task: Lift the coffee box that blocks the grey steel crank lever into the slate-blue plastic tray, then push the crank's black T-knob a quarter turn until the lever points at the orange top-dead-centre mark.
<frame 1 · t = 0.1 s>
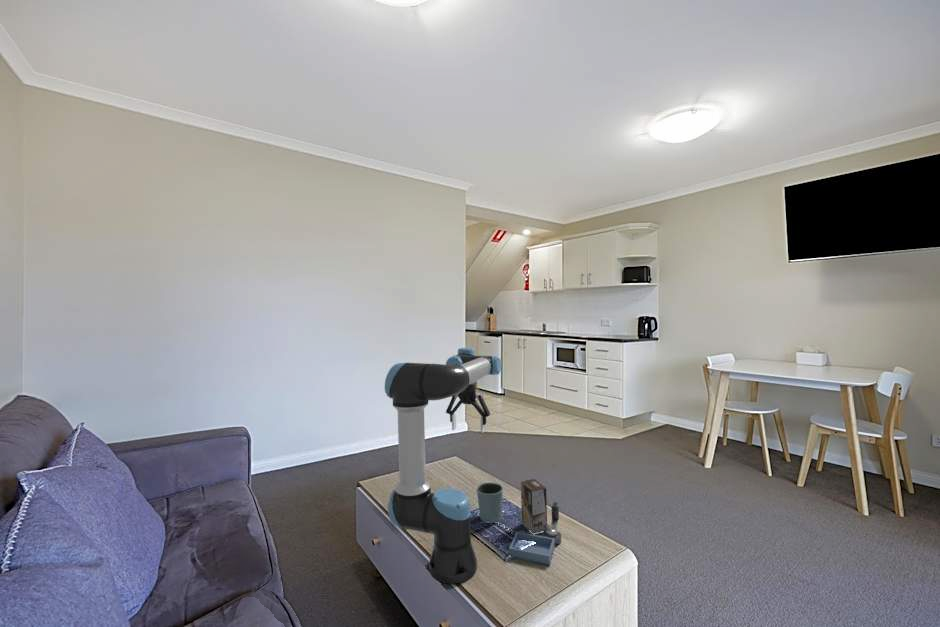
hand: (468, 430, 176), 28 cm above the table, fingers open, 13 cm apart
crank base: (551, 540, 140), on the table
coffee box: (534, 528, 148), on the table
tray: (532, 552, 133), on the table
crank: (553, 518, 143), point 6 cm above the table, hinge at 0.0°
green cup: (490, 518, 155), on the table
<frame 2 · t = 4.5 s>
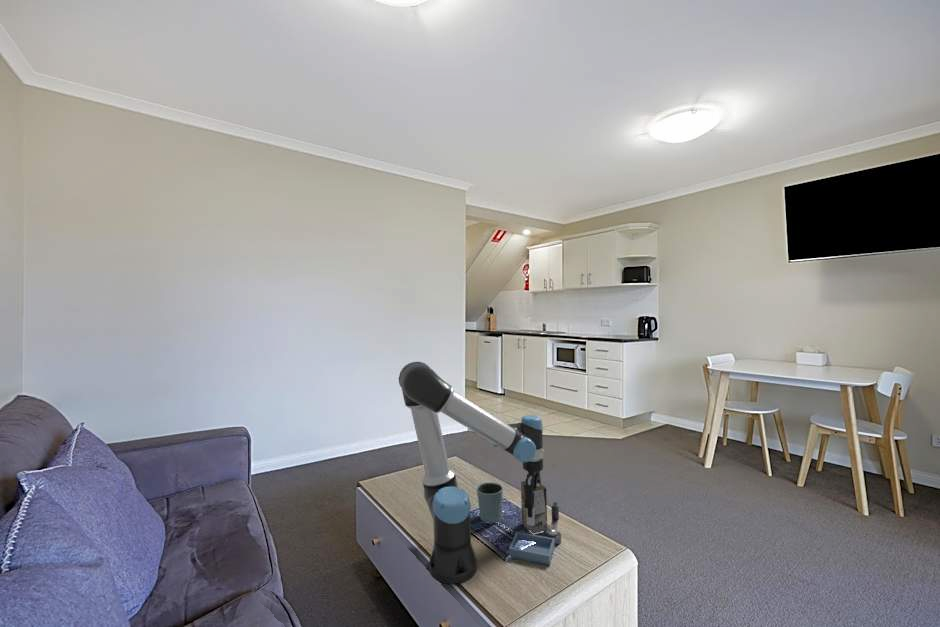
hand: (534, 516, 148), 4 cm above the table, fingers closed on coffee box, 11 cm apart
coffee box: (534, 528, 148), on the table, touching gripper
everything else where it was.
when the fingers open (6 cm above the table, at t = 12.0 s): coffee box stays where it is, resting on tray.
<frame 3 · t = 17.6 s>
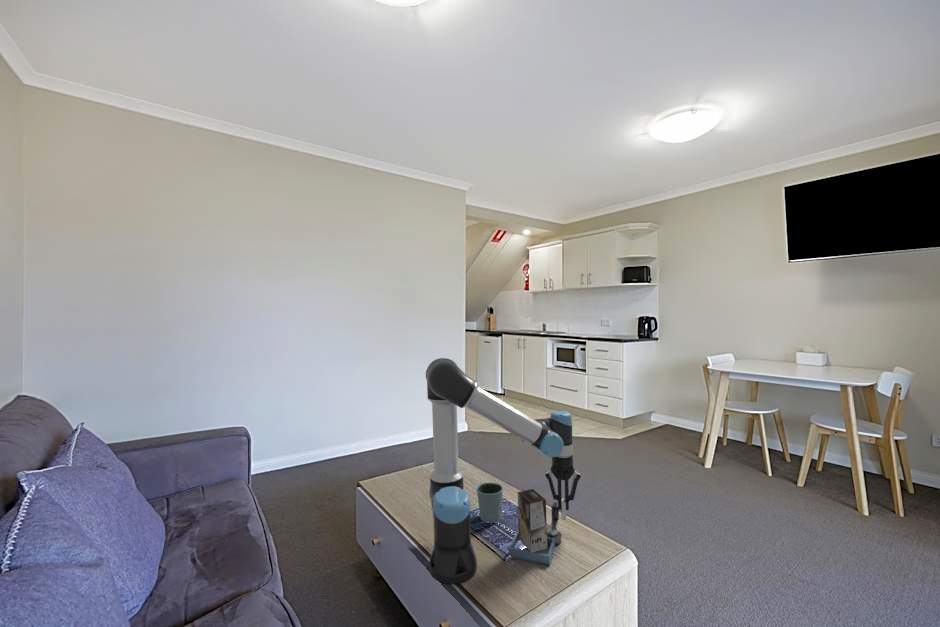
hand: (563, 518, 146), 4 cm above the table, fingers closed
coffee box: (532, 544, 133), point 3 cm above the table, touching tray
crank: (553, 518, 143), point 6 cm above the table, hinge at 0.0°, touching gripper
everything else where it was.
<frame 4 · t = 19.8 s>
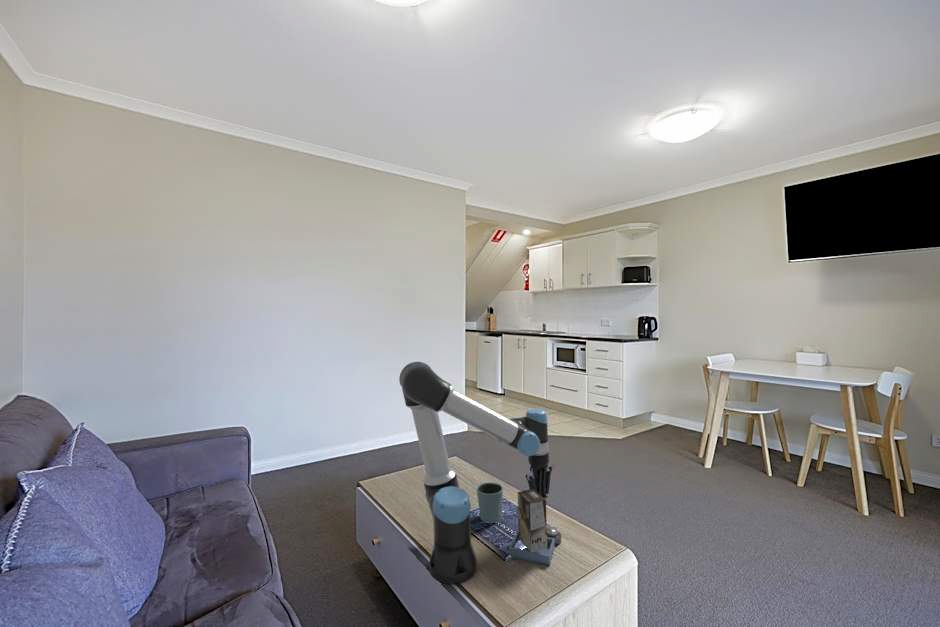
hand: (541, 514, 148), 5 cm above the table, fingers closed
crank: (543, 519, 143), point 6 cm above the table, hinge at 56.4°, touching gripper
everything else where it was.
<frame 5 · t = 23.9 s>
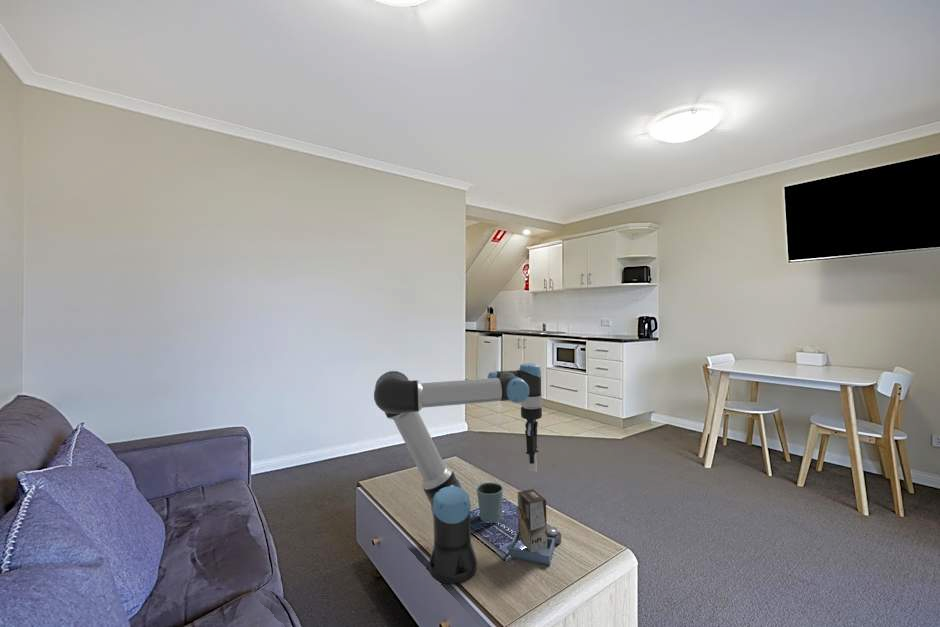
hand: (532, 471, 145), 22 cm above the table, fingers closed
crank: (540, 522, 141), point 6 cm above the table, hinge at 92.1°
everything else where it was.
at the end: coffee box 0.1 cm off-centre on the tray, point 2.8 cm above the tray's base; coffee box tilted 0°; crank at +92° (first picture: +0°) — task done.
